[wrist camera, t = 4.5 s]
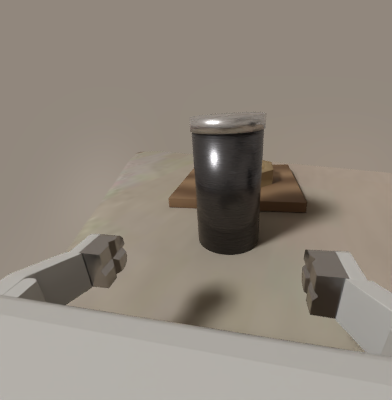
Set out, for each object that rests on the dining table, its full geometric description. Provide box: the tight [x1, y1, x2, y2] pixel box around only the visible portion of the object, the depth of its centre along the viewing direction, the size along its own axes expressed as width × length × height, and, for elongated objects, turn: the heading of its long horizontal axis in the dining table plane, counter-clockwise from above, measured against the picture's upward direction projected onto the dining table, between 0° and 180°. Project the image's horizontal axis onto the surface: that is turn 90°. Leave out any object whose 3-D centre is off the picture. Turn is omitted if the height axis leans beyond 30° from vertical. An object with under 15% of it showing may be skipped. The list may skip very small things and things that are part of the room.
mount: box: [169, 160, 307, 213], centre depth 34 cm, size 16×16×3 cm
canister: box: [190, 112, 266, 255], centre depth 20 cm, size 6×6×11 cm
